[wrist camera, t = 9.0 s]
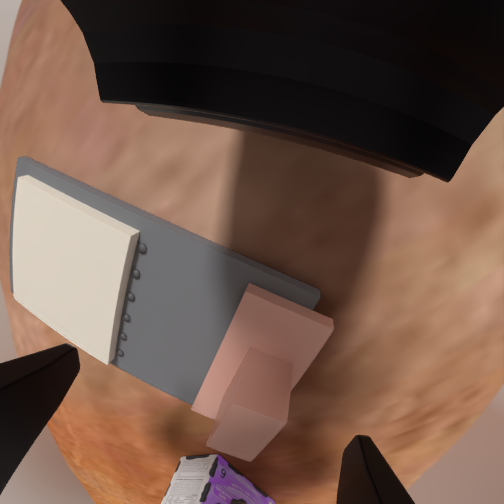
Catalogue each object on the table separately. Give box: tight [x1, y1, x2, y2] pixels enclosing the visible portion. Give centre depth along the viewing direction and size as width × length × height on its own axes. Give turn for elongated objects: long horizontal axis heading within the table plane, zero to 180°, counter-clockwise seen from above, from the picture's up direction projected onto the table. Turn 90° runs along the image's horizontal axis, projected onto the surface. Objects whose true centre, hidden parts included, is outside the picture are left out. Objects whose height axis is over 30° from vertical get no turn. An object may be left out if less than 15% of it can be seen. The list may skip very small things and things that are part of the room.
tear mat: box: [10, 156, 321, 405], centre depth 21 cm, size 26×14×1 cm, turn 67°
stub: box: [191, 283, 334, 462], centre depth 17 cm, size 6×12×6 cm, turn 157°
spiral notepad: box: [12, 175, 147, 365], centre depth 20 cm, size 13×12×1 cm
